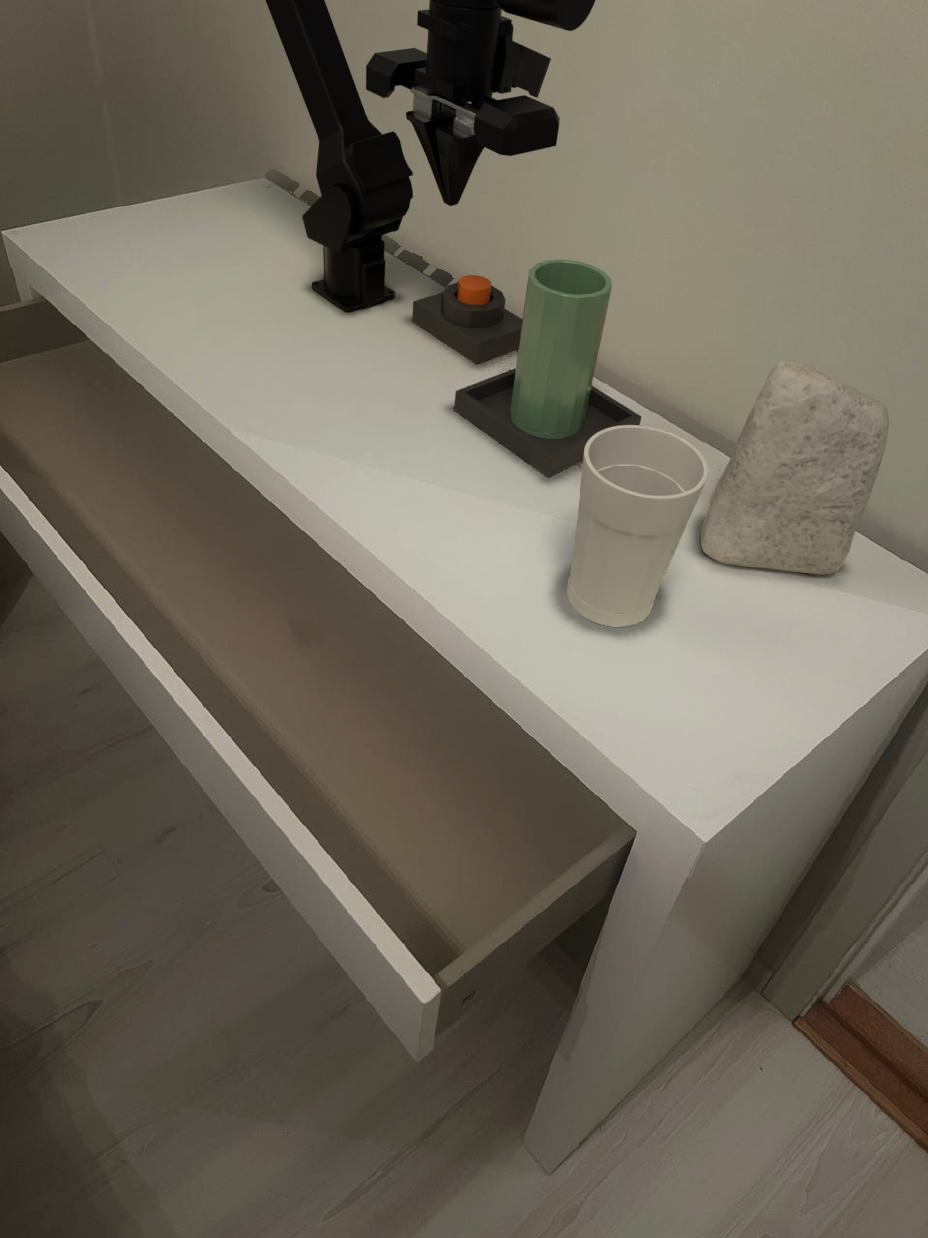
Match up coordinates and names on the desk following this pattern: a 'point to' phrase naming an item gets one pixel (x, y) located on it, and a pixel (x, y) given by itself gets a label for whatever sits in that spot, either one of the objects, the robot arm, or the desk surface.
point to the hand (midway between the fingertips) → (451, 203)
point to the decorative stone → (797, 474)
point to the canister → (558, 347)
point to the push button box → (469, 324)
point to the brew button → (474, 290)
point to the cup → (630, 520)
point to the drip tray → (549, 456)
